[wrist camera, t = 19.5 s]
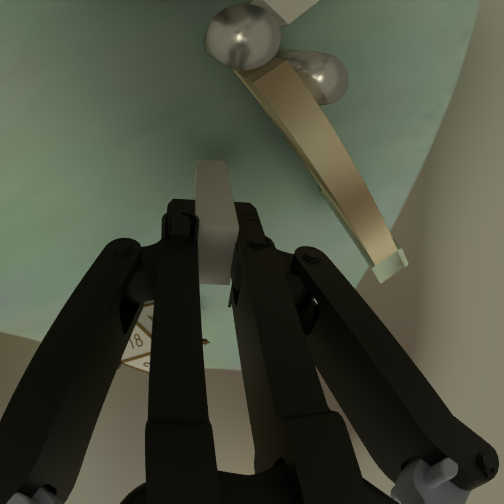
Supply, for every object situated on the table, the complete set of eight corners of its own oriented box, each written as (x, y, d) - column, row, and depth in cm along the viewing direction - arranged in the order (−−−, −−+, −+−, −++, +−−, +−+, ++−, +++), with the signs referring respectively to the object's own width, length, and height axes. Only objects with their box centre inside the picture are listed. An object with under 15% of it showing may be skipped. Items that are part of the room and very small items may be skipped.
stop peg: (280, 42, 17) (324, 42, 11) (304, 67, 18) (357, 82, 12) (254, 65, 18) (284, 76, 12) (279, 89, 19) (320, 115, 13)
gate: (227, 69, 17) (247, 87, 10) (253, 51, 17) (293, 56, 10) (328, 206, 24) (380, 283, 17) (349, 191, 24) (408, 264, 17)
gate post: (223, 18, 16) (244, -10, 7) (249, 41, 17) (295, 37, 9) (196, 43, 17) (191, 38, 8) (223, 66, 18) (244, 83, 10)
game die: (159, 258, 31) (193, 271, 22) (197, 328, 33) (241, 362, 24) (82, 303, 27) (83, 336, 18) (127, 372, 29) (148, 423, 21)
